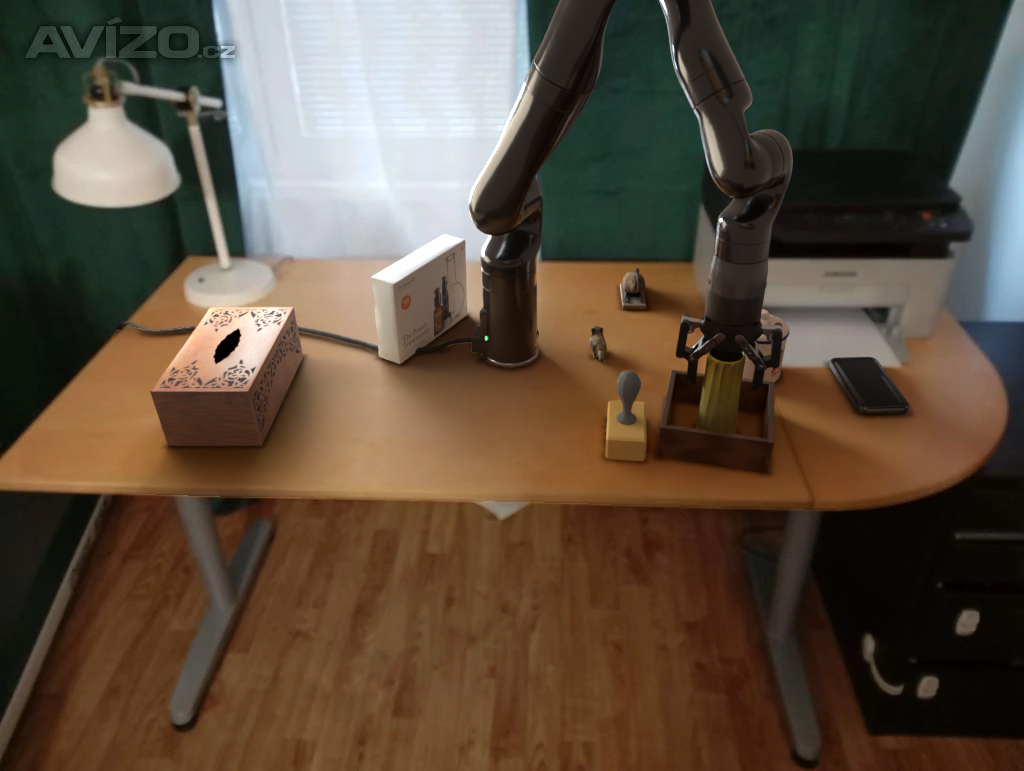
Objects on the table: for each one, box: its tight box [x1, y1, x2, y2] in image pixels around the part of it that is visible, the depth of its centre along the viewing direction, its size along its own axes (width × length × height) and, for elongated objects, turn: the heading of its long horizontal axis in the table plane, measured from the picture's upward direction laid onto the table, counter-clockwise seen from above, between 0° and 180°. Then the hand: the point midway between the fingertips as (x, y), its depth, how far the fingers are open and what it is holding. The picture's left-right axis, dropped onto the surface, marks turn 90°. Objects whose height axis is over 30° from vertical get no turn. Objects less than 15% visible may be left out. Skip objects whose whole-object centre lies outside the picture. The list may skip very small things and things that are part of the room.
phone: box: [829, 356, 910, 416], centre depth 132 cm, size 8×1×15 cm
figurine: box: [619, 267, 647, 310], centre depth 157 cm, size 14×4×9 cm, turn 177°
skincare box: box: [370, 233, 468, 365], centre depth 146 cm, size 21×5×16 cm, turn 148°
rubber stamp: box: [604, 369, 648, 462], centre depth 120 cm, size 10×6×12 cm, turn 173°
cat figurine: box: [589, 325, 608, 363], centre depth 142 cm, size 3×8×4 cm, turn 4°
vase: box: [694, 348, 746, 435], centre depth 120 cm, size 6×6×14 cm
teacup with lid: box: [743, 308, 790, 383], centre depth 135 cm, size 12×9×12 cm
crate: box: [656, 369, 776, 474], centre depth 122 cm, size 16×16×6 cm
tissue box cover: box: [149, 306, 304, 447], centre depth 132 cm, size 26×14×10 cm, turn 178°
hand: (723, 384), depth 119 cm, fingers open, 8 cm apart
